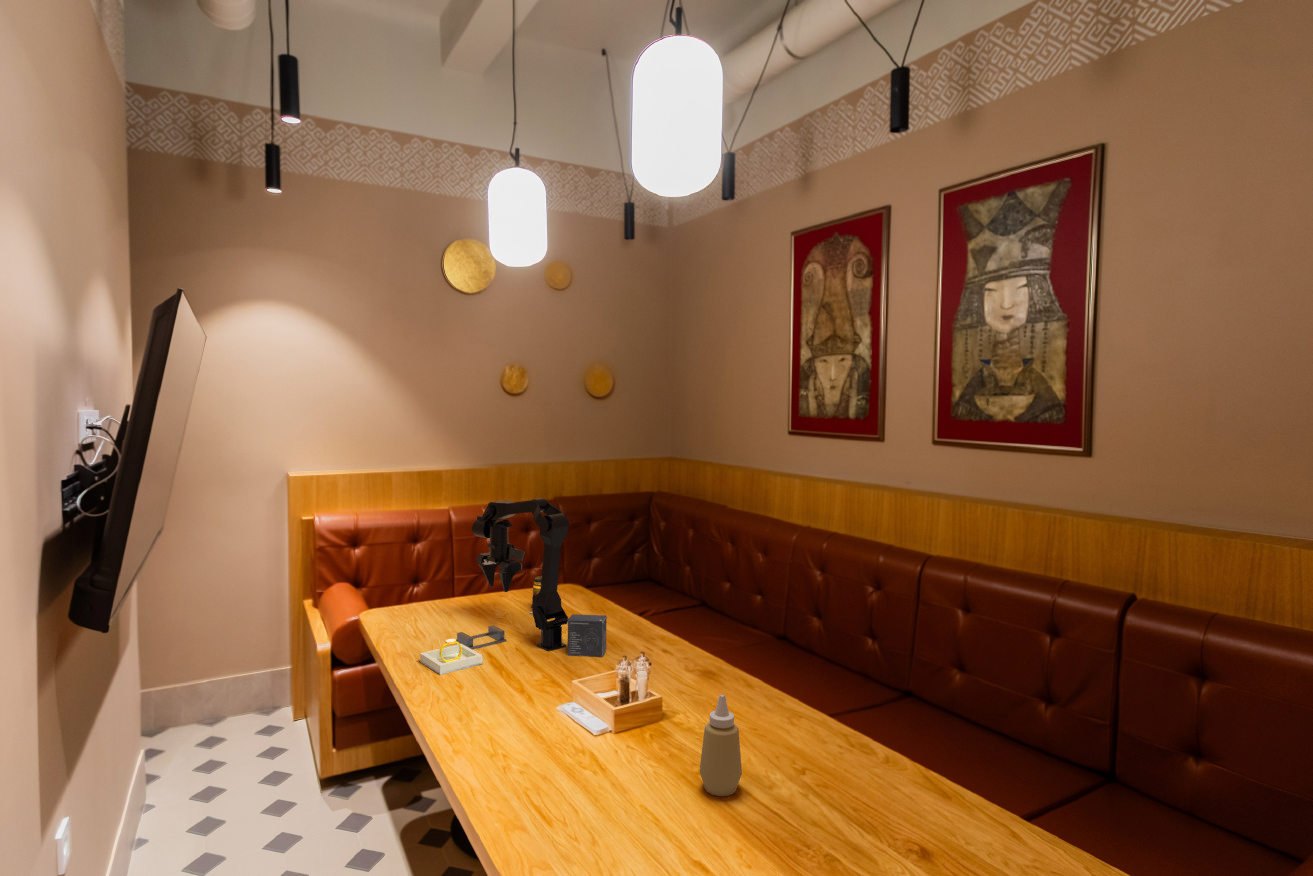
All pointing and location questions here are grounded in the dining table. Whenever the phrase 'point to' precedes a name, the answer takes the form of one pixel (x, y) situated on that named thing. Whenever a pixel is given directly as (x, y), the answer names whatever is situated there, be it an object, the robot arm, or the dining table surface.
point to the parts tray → (451, 652)
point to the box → (587, 635)
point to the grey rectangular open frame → (492, 632)
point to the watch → (449, 641)
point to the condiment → (536, 586)
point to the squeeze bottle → (721, 752)
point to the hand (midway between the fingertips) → (498, 589)
